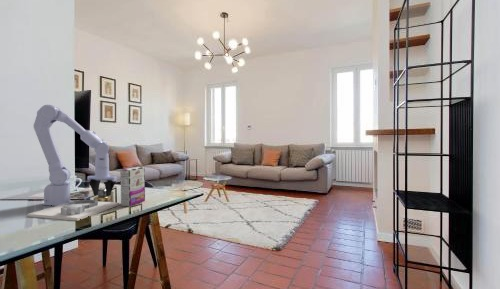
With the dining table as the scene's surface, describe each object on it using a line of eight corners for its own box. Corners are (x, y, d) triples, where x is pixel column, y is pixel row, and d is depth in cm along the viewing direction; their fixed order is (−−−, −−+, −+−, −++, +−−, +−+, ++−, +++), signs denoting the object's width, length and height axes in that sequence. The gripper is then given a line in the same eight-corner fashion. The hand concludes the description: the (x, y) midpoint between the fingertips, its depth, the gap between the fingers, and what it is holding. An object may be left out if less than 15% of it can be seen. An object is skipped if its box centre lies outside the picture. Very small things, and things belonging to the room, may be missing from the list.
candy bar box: (136, 200, 123) (136, 166, 122) (145, 200, 122) (145, 166, 121) (119, 206, 112) (119, 169, 111) (129, 206, 111) (129, 169, 110)
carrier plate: (27, 216, 96) (27, 207, 96) (77, 202, 118) (77, 194, 117) (77, 220, 92) (77, 211, 92) (119, 205, 113) (119, 197, 113)
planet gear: (90, 201, 119) (89, 190, 119) (101, 197, 126) (101, 188, 126) (103, 202, 118) (103, 191, 118) (114, 198, 125) (114, 188, 125)
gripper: (121, 166, 124) (121, 194, 124) (95, 166, 127) (95, 192, 127) (110, 168, 117) (111, 197, 118) (83, 167, 120) (84, 196, 120)
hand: (102, 195), depth 122 cm, fingers open, 6 cm apart
